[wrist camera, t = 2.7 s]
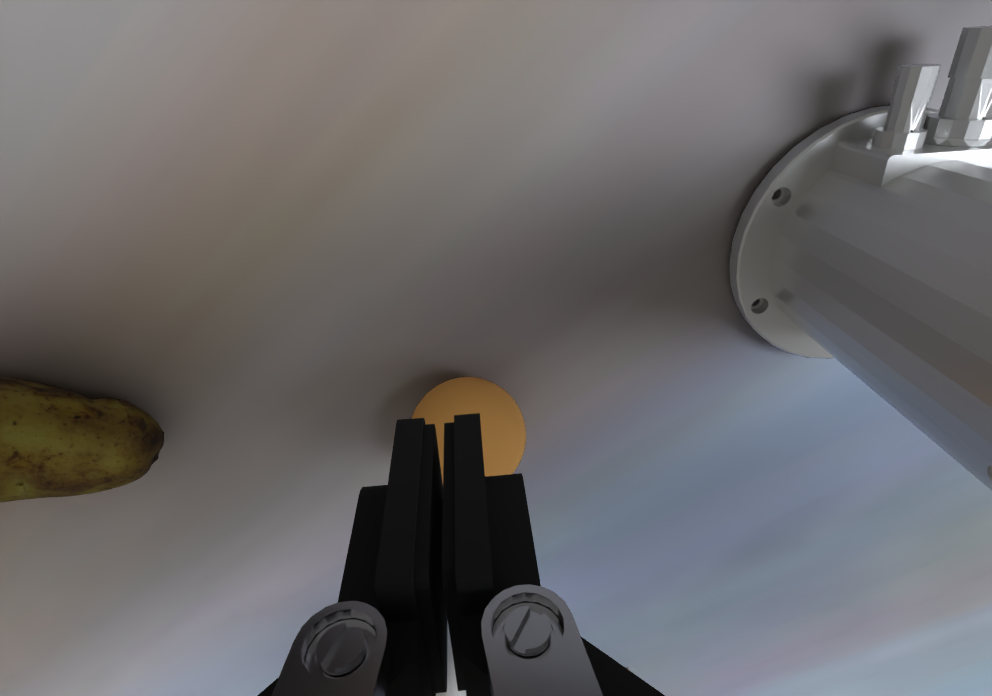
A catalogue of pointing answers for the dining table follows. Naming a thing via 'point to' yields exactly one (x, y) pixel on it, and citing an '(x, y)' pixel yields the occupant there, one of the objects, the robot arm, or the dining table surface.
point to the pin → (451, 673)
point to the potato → (70, 442)
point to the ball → (496, 416)
